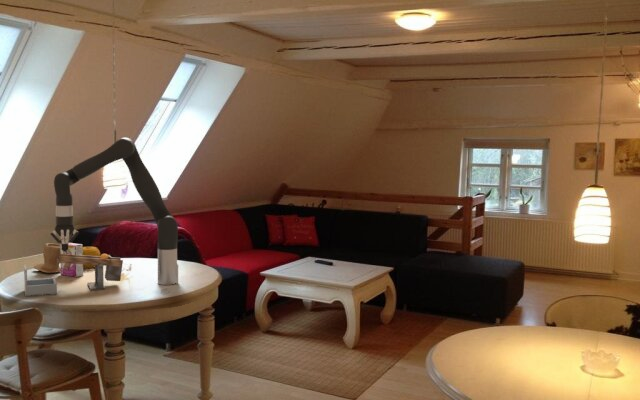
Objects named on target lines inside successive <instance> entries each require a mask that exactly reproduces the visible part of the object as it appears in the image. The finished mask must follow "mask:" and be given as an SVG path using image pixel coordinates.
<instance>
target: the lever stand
mask: <svg viewBox="0 0 640 400" xmlns="http://www.w3.org/2000/svg"><path fill="white" fill-rule="evenodd" d="M87 287H88V288H89V290H90V291H91V292H93V291H103V290H106V288H105V283H104V266H103V263H99V264H98V266H97V265H95V267H94V281H93V282H92V281H90V282H87Z"/></svg>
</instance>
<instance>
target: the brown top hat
mask: <svg viewBox="0 0 640 400" xmlns="http://www.w3.org/2000/svg"><path fill="white" fill-rule="evenodd" d="M58 254H60V243H52V242H51V243H50V242H47V243H45V245H43V262H44V263H39V264H36V265H34V266H33V267H32V268H33V269H34V270H36V271H39V272H43V273H48V274H53V273H61V266H60V263H58V261H57V257H58Z"/></svg>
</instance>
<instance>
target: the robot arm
mask: <svg viewBox="0 0 640 400" xmlns="http://www.w3.org/2000/svg"><path fill="white" fill-rule="evenodd" d="M141 158H142V157H141V156H140V153H139V151H138V149H137V146H136V144H135V142H134V141H133V140H132V139H131V138H129V137H121V138H119V139H117V140H116V141H115V142H114V143H112V144H111V145H110V146H109V147H107V148H106V149H104V150H103V151H102V152H100V153H98V154H96V155H93V156H91V157H89V158H87V159H84V160H83V161H81V162H79V163H77V164H75V165H74V166H73V167H72V168H70V169H68V170H66V171H64V172H59V173H56V175H55V176H54V179H53V187H54V192H55V196H56V197H55V205H56V206H55V227H54V230H53V231H50V236H51V237H52V238H53V239H54V240H55V241H56V243H57V244H61V245H62V251H63V252H67V250H68V244H69V243H73V242H74V240H75V239H76V238H77V236H79V234H80V231H78V230H77V229H75V227H74V208H73V206H74V205H73V195H72V193H71V186H73V185H75V184H77V182H79V181H81V180H83V179H85V178H87V177H89V176H90V175H92V174H94V173H96V172H97V171H99V170H101V169H102V168H104V167H106V166H107V165H110V164H111V163H114V162H117V161H119V160H123V161H124V163H125V165H126V167H127V169H128V171H129V174H130V176H131V177H130V178H131V179H132V180H131V181H132V183H133V186H134V188H135V190H136V191H137V194H138V196H139V197H140V198H141V200H142V201H143V203H144V204H145V205H146V207H147V208H148V209H149V211H150V212H151V214H152V217H153V219H154V220H155V223H156V226H157V284H158V285H161V286H163V285H164V286H168V285H169V286H170V285H175V283H176V284H179V263H178V241H179V240H178V238H179V233H178V230H179V228H178V227H179V226H178V222H177V220H176V219H175V217H174V216H173V215H172V214H171V212H170V211H169V210H168V208H167V206H166V205H165V203H164V200H163V198H162V195H161V194H162V193H161V192H160V190H159V187H158V185H157V184H156V182H155V180H154V178H153V176H152V175H151V173H150V171H149V170H148V168H147V167H146V165H145V163H144V162H143V160H142V159H141ZM56 235H58V236H59V237H60V239H59V237H58V236H56ZM71 235H72V236H71ZM70 236H71V237H70Z"/></svg>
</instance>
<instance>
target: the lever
mask: <svg viewBox="0 0 640 400" xmlns="http://www.w3.org/2000/svg"><path fill="white" fill-rule="evenodd" d="M107 255H108V256H109V259H100V256H101V255H100V256H85V255H69V254H58V257H57V261H58V263H59V264H61V263H68V264H86V265H97V266H98V264H99V263H103V267H104V266H105V271H104V279H105V280H106V281H107V282H108V281H110V282H111V281H112V282H121V277H122V270H123V263H124V259H121V257H115V256H114V257H112V256H111V254H107Z"/></svg>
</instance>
